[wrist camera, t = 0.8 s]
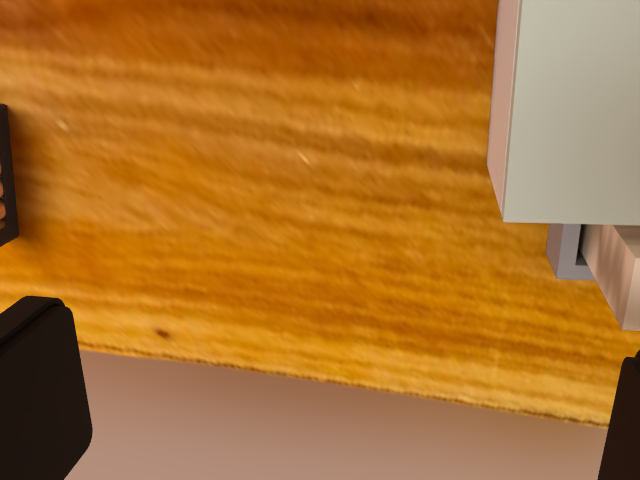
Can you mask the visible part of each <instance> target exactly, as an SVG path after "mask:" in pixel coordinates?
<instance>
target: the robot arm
mask: <svg viewBox="0 0 640 480" xmlns="http://www.w3.org/2000/svg"><path fill="white" fill-rule="evenodd" d="M91 438H92V423H91V417H90V411H89V405H88V400H87V394H86V388H85V382H84V377H83V371H82V365H81V359H80V353H79V347H78V342H77V336H76V330H75V324H74V318H73V314H72V311H71V310H70V308H68V307H65V305H64V303H63V302H62V300H60V299H59V298H50V297H39V296H25V297H23V298H21V299H20V300H19V301H17V302H16V303H15V304H13V305H12V306H11V307H9V308H8V309H6V310H5V311H4V312H2V313H1V314H0V480H64V478H65V477H66V476H67V475H68V473H69V472H70V471H71V470H72V468H73V467H74V466H75V464H76V463H77V462H78V461H79V459H80V458H81V457H82V455H83V454H84V453H85V451H86V450H87V448H88V447H89V445H90V442H91ZM598 480H640V350H639V351H638V352H637V354H636V356H635V357H626V358H625V359H624V361H623V363H622V367H621V371H620V376H619V381H618V386H617V390H616V395H615V400H614V404H613V409H612V414H611V419H610V423H609V428H608V433H607V437H606V442H605V447H604V452H603V456H602V461H601V466H600V470H599V475H598Z"/></svg>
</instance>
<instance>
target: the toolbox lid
mask: <svg viewBox="0 0 640 480" xmlns="http://www.w3.org/2000/svg"><path fill="white" fill-rule="evenodd" d="M501 216H502V219H503V222H520V223H560V224H601V225H640V0H520V1H519V13H518V24H517V36H516V48H515V59H514V71H513V83H512V95H511V106H510V118H509V130H508V141H507V153H506V165H505V177H504V188H503V200H502V212H501Z"/></svg>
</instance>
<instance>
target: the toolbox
mask: <svg viewBox="0 0 640 480" xmlns="http://www.w3.org/2000/svg"><path fill="white" fill-rule="evenodd" d="M519 1H520V0H499V1H498V15H497V28H496V42H495V56H494V70H493V84H492V97H491V111H490V125H489V139H488V153H487V167H488V170H489V174H490V177H491V181H492V184H493V188H494V191H495V195H496V198H497V202H498V205H499V209H500V212H502V200H503V188H504V177H505V165H506V153H507V141H508V130H509V118H510V106H511V95H512V83H513V71H514V59H515V48H516V36H517V24H518V13H519ZM580 229H581V224H560V223H549V230H548V239H547V247H546V254H547V257H548V259H549V262H550V264H551V267H552V269H553V271H554V274H555V276H556V279H568V280H594V281H596V279H595V277H594V276H593V274H592V272H591V270H590V268H589V266H588V264H587V262H586V260H585V259H584V257H583V255H582V253H581V251H580V249H579V247H578V243H579V236H580Z"/></svg>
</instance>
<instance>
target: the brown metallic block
mask: <svg viewBox="0 0 640 480" xmlns="http://www.w3.org/2000/svg"><path fill="white" fill-rule="evenodd" d="M578 247H579V249H580V251H581V253H582V255H583V257H584V259H585V260H586V262H587V264H588V266H589V268H590V270H591V272H592V274H593V276H594V277H595V279H596V281H597V283H598V285H599V287H600V289H601V291H602V293H603V294H604V296H605V298H606V300H607V302H608V304H609V306H610V308H611V310H612V311H613V313H614V315H615V317H616V319H617V321H618V323H619V325H620V327H621V328H622V330H633V331H640V225H601V224H581V229H580V236H579V243H578Z"/></svg>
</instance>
